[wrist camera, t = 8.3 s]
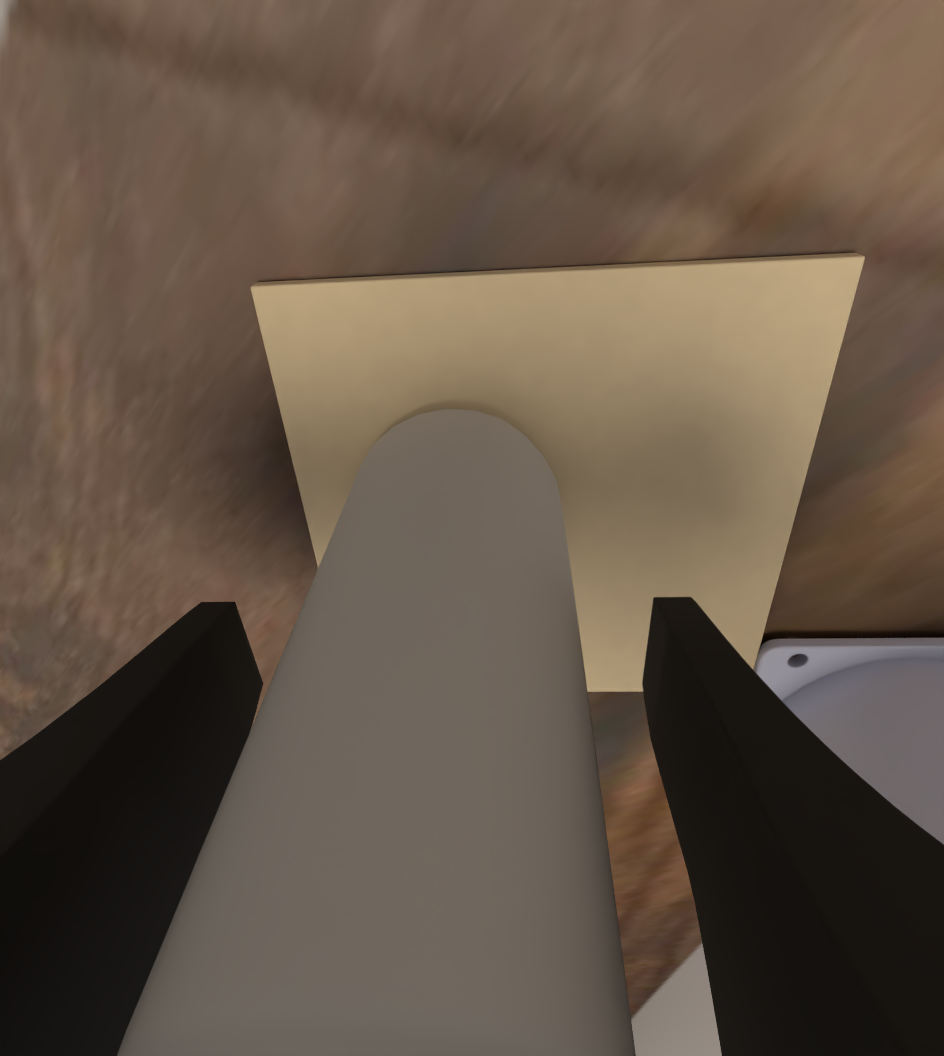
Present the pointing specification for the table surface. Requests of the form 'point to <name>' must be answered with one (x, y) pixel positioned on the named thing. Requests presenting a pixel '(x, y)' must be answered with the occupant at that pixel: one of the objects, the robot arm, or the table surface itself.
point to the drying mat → (590, 413)
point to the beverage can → (412, 792)
